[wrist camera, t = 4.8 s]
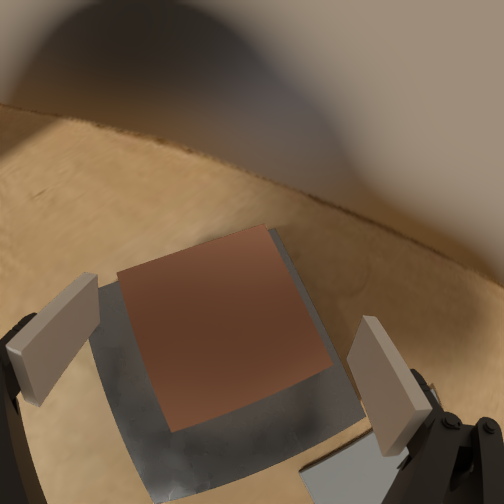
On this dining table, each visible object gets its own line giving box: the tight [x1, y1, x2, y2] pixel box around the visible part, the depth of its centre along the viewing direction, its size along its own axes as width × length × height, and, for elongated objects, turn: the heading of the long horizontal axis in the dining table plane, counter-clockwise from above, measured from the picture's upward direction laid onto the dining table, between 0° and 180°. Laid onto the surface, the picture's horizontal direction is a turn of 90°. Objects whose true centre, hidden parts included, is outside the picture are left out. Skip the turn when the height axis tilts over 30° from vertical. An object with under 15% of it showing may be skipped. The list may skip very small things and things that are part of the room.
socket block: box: [89, 229, 366, 504], centre depth 18 cm, size 14×14×2 cm
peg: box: [117, 224, 333, 433], centre depth 13 cm, size 4×4×14 cm
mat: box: [299, 389, 439, 504], centre depth 16 cm, size 12×12×1 cm
